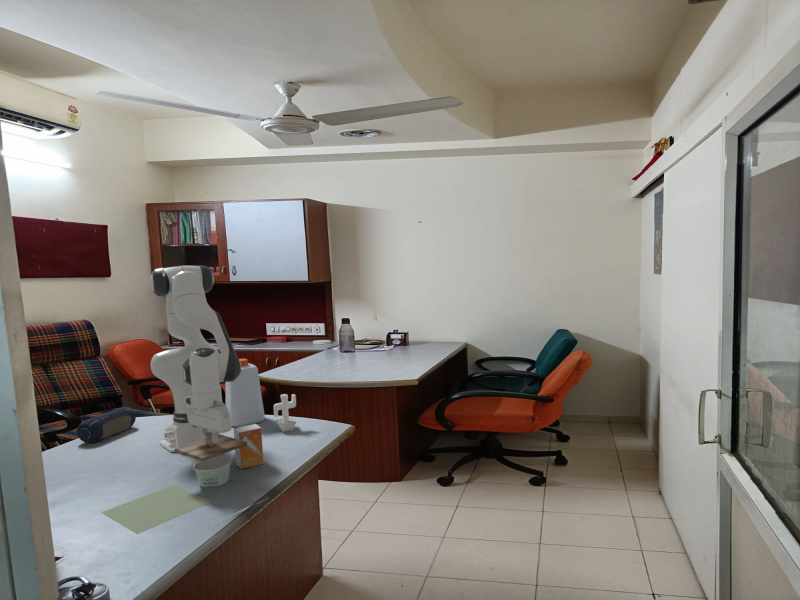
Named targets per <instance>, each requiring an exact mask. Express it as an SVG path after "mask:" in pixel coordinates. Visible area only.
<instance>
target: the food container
mask: <svg viewBox="0 0 800 600" xmlns="http://www.w3.org/2000/svg"><path fill="white" fill-rule="evenodd" d="M232 463H233V459H232V458H231V457H230V456H227V455H226V456H224V455H222V456H221V455H219V456H216V457H213V458H210V459H207V460H205V461H200V460H198V461H196V462H195V463H194V464H192V469H193V470H194V472H195V476H196V479H197V482H198V485H199V486H200V487H201V488H215V487H218V486H221V485H224V484H226V483H228V482H229V480H230V474H231V472H230V471H231V464H232Z"/></svg>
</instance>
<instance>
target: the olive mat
mask: <svg viewBox="0 0 800 600" xmlns="http://www.w3.org/2000/svg"><path fill="white" fill-rule="evenodd" d="M210 503H212V501H211V500H209V499H207V498H204V497H202V496H200V495H198V494H195V493H193V492H192V491H188V490H186V489H184V488H181V487H179V486H178V485H175V484H172V485H169V486H166V487H164V488H162V489H158V490H155V491H153V492H151V493H149V494H146V495H143V496H141V497H137V498H136V499H135V498H134V499H133V500H130V501H128V502H125V503H122V504H119V505H117V506H114V507H112V508H110V509H106V510H104V511H102V512H101V513H102V514H103V515H105V516H106V517H108V518H109V519H112V520H113V521H114V522H116V523H118V524H120V525H121V526H122V527H124V528H126V529H127V530H130V531H131V532H133V533H134V534H136V535H139V534H140V533H143V532H144V531H147V530H149V529H150V530H151V529H152V528H154V527H157V526H160V525H161V524H163V523H167V522H169V521H170V520H172V519H175V518H177V517H181V516H182V515H185V514H187V513H189V512H191V511H193V510H196V509H198V508H200V507H203V506H205V505H207V504H208V505H209V504H210Z"/></svg>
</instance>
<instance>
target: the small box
mask: <svg viewBox="0 0 800 600" xmlns="http://www.w3.org/2000/svg"><path fill="white" fill-rule="evenodd" d="M262 435H263V434H262V427H260V426H259V424H258V423H255V424H251V425H246V426H242V427H233V438H234V439H238V440H241V441H245V442H247V445H246V446H243V447H241V448H238V449H235V450H234V453H235V464H236V466H238V467H239V469H240V470H243V469H246V468H251V467H255V466H259V465H263V464H264V462H265V461H264V448H263V436H262Z"/></svg>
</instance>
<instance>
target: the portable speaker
mask: <svg viewBox="0 0 800 600" xmlns="http://www.w3.org/2000/svg"><path fill="white" fill-rule="evenodd" d="M136 417H137V415H136V412H135V410H134V409H133V408H132V407H129V406H121V407H118V408H116V409H112V410H111V411H107V412H104V413H102V414H98V415H96V416H93V417H90V418H88V419H85V420H84V421H83V422H81V423H80V424H79V425H78V427H77V430H76V434H77V435H76V436H77V437H78V438H79V440H81V442H84V443H86V444H92V443H97V442H99V441H101V440H103V439H107V438H109V437H111V436H113V435H116V434H119V433H121V432H123V431H125V430H128V429H130V428H132V427H133V426H134V424H135V422H136Z"/></svg>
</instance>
